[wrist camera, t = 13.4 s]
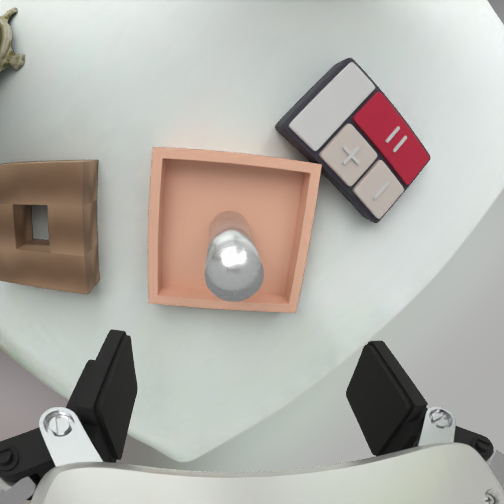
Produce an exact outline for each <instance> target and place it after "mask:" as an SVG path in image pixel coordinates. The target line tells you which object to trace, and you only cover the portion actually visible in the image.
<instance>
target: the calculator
mask: <svg viewBox="0 0 504 504" xmlns="http://www.w3.org/2000/svg"><path fill="white" fill-rule="evenodd" d="M275 128H276V130H277V131H278V132H279V133H280V134H281V135H283V136H284V137H285V138H286V139H287V140H288V141H289V142H290V143H291V144H292V145H293V146H294V147H296V148H297V149H298V150H299V151H300V152H301V153H302V154H303V155H304V156H306V157H307V158H308V159H309V160H310V161H311V162H312V163H316V164H322V167H321V172H322V173H323V174H324V175H325V176H326V177H327V178H328V179H329V180H330V181H331V182H332V183H333V184H334V185H335V187H336V188H337V189H338V190H339V191H340V192H341V193H342V194H343V195H344V196H345V197H346V198H347V199H348V200H349V201H350V202H351V203H352V204H353V205H354V207H355V208H356V209H357V210H358V211H359V212H360V213H361V214H362V215H363V216H364V217H365V218H367V219H369V220H370V221H372V222H374V223H377V222H379V221H380V220H381V218H382V217H383V216H384V215H385V214H386V213H387V211H388V210H389V209H390V208H391V207H392V206H393V204H394V203H395V202H396V201H397V200H398V198H399V197H400V196H401V195H402V194H403V192H404V191H405V190H406V189H407V188H408V186H409V185H410V184H411V183H412V182H413V180H414V179H415V178H416V177H417V175H418V174H419V173H420V172H421V170H422V169H423V168H424V167H425V165H426V164H427V163H428V162H429V160H430V155H429V154H428V152H427V151H426V149H425V148H424V146H423V145H422V143H421V142H420V140H419V139H418V138H417V136H416V135H415V133H414V132H413V131H412V129H411V128H410V126H409V125H408V124H407V122H406V121H405V120H404V118H403V117H402V116H401V114H400V113H399V112H398V111H397V109H396V108H395V107H394V106H393V104H392V103H391V102H390V101H389V99H388V98H387V97H386V96H385V95H384V93H383V92H382V91H381V90H380V89H379V87H378V86H377V85H376V84H375V83H374V82H373V81H372V79H371V78H370V77H369V76H368V75H367V74H366V73H365V72H364V70H363V69H362V68H361V67H360V66H359V65H358V64H357V63H356V62H355V61H354V60H353V59H352V58H348V59H345V60H343V61H341V62H339V63H337V64H335V65H334V66H333V67H332V68H331V69H330V70H329V71H328V72H327V73H326V74H325V75H324V76H323V77H322V78H321V79H320V80H319V81H318V82H317V83H316V84H315V85H314V86H313V87H312V88H311V89H310V90H309V91H308V92H307V93H306V94H305V95H304V96H303V97H302V98H301V99H300V100H299V101H298V102H297V103H296V104H295V105H294V106H293V107H292V108H291V109H290V110H289V111H288V112H287V113H286V114H285V115H284V116H283V118H282V119H281V120H280V121H279V122H278V123H277V124H276V126H275Z"/></svg>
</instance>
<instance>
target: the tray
mask: <svg viewBox="0 0 504 504" xmlns="http://www.w3.org/2000/svg"><path fill="white" fill-rule="evenodd" d="M321 167H322V164H316V163H311V162H304V161H298V160H291V159H284V158H276V157H268V156H260V155H252V154H243V153H233V152H222V151H211V150H198V149H182V148H163V147H153V153H152V166H151V180H150V198H149V224H148V293H149V303H152V304H163V305H174V306H186V307H198V308H212V309H227V310H244V311H264V312H289V313H296V311H297V306H298V301H299V296H300V291H301V286H302V281H303V275H304V270H305V265H306V259H307V254H308V248H309V243H310V237H311V231H312V225H313V219H314V213H315V207H316V201H317V194H318V188H319V181H320V174H321ZM225 211H234V212H237V213H239V214H241V215H242V216H243V217H244V218H245V220H246V221H247V224H248V227H249V230H250V232H251V235H252V238H253V241H254V244H255V246H256V249H257V252H258V255H259V258H260V260H261V263H262V266H263V270H264V278H263V282H262V285H261V287H260V288H259V290H258V291H257V292H256V293H255V294H254V295H253V296H251V297H250V298H248V299H246V300H243V301H238V302H230V301H225V300H222V299H220V298H218V297H216V296H215V295H214V294H213V293H212V292H211V291H210V290H209V288H208V287H207V285H206V282H205V266H206V257H207V248H208V240H209V232H210V225H211V222H212V220H213V219H214V218H215V217H216V216H217V215H218V214H220V213H221V212H225Z"/></svg>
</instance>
